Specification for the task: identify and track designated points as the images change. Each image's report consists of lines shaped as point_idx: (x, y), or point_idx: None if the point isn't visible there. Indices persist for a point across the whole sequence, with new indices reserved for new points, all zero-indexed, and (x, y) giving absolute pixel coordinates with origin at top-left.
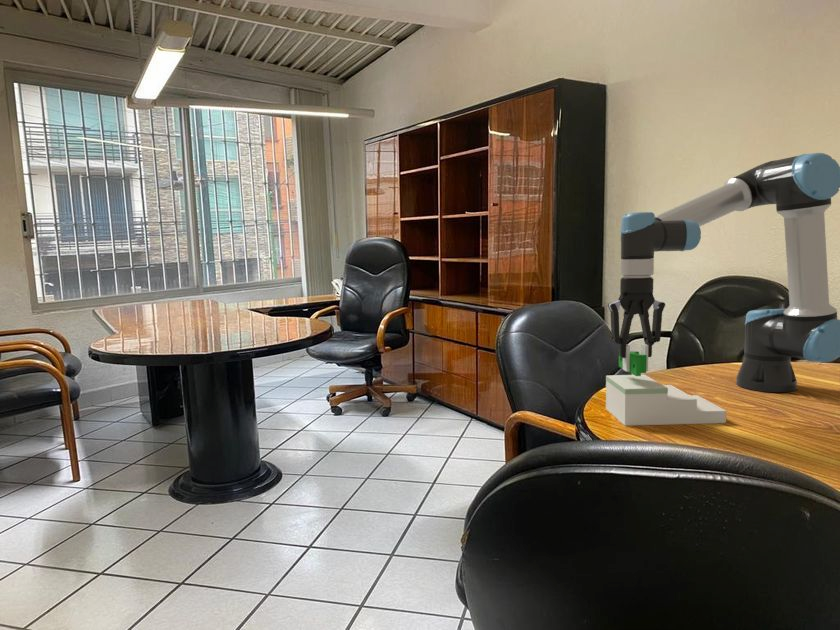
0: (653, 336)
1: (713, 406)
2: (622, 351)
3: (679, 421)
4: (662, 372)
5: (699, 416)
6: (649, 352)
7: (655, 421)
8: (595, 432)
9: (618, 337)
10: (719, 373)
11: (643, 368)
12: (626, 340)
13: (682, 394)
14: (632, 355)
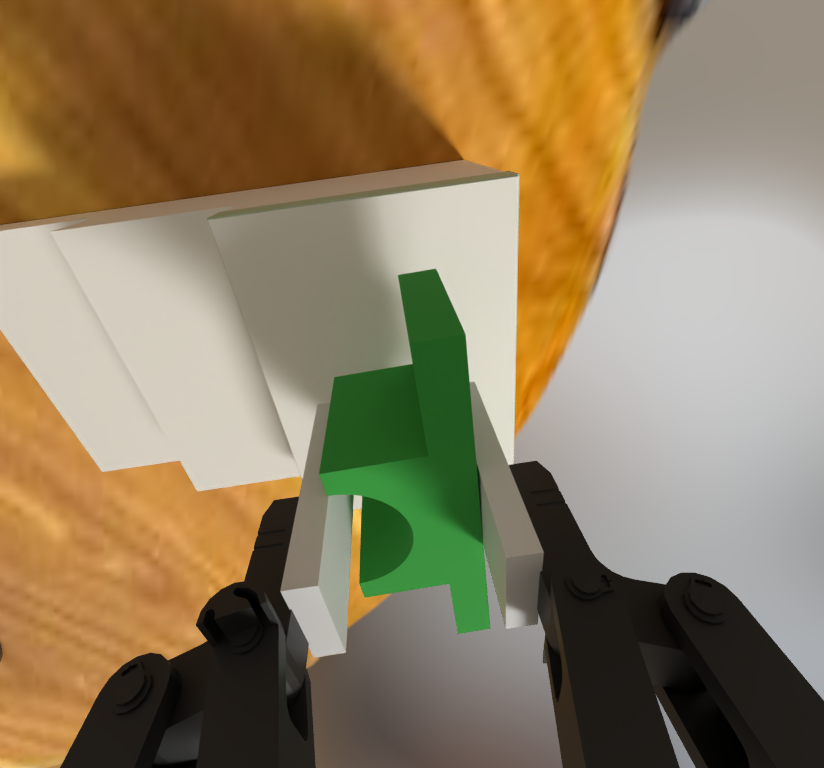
0: (184, 762)
1: (14, 315)
2: (554, 507)
3: (204, 197)
4: None
5: (95, 215)
6: (280, 535)
7: (319, 181)
8: (638, 32)
9: (721, 656)
10: (62, 710)
11: (353, 393)
12: (574, 623)
13: (141, 335)
14: (463, 454)
